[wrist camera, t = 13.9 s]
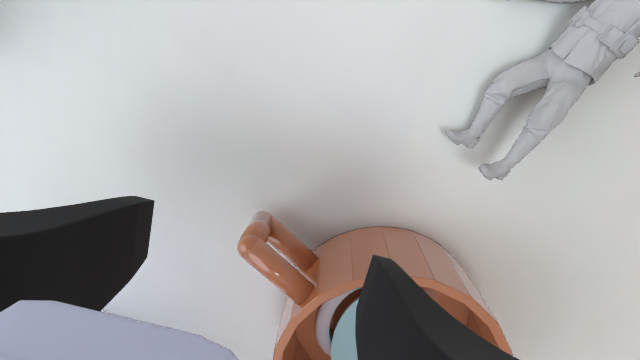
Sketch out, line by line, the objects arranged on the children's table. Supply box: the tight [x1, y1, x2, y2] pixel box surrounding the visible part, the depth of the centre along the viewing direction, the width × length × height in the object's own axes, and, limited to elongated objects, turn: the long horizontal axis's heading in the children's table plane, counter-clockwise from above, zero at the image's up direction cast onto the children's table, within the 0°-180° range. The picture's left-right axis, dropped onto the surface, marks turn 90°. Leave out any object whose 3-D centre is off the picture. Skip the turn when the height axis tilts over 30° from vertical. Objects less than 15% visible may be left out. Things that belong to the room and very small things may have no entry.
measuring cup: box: [237, 211, 512, 360], centre depth 20 cm, size 15×11×6 cm
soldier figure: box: [446, 0, 640, 180], centre depth 17 cm, size 8×5×12 cm
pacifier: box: [315, 287, 362, 360], centre depth 20 cm, size 7×6×6 cm
